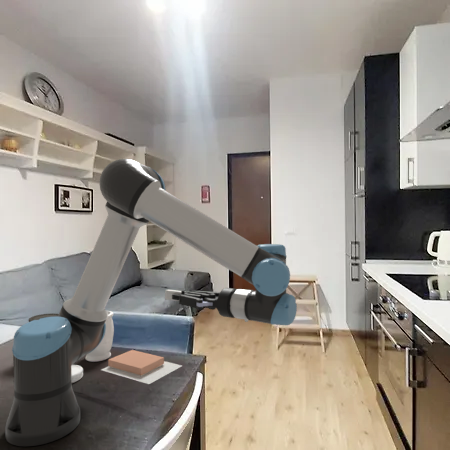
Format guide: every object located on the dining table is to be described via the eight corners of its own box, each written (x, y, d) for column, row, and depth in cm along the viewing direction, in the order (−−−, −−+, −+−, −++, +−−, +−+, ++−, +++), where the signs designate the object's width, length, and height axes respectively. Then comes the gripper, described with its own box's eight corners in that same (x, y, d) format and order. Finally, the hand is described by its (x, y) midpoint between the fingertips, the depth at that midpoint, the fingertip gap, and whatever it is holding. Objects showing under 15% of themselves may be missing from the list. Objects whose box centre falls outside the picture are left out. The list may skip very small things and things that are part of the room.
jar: (93, 351, 131) (92, 309, 131) (119, 352, 129) (119, 310, 129) (75, 362, 121) (74, 317, 120) (103, 364, 118) (103, 318, 118)
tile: (163, 357, 115) (132, 349, 122) (141, 368, 106) (108, 359, 113) (164, 365, 115) (132, 356, 122) (141, 376, 106) (108, 367, 113)
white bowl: (75, 372, 113) (74, 361, 113) (89, 382, 106) (88, 370, 106) (40, 383, 106) (40, 370, 106) (53, 394, 99) (52, 381, 99)
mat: (182, 368, 114) (182, 365, 114) (149, 387, 101) (149, 384, 101) (136, 357, 124) (136, 354, 124) (100, 373, 112) (100, 369, 112)
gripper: (223, 323, 89) (151, 311, 102) (248, 312, 100) (180, 302, 113) (223, 293, 89) (151, 285, 101) (248, 285, 100) (180, 278, 113)
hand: (166, 294), depth 107 cm, fingers closed
